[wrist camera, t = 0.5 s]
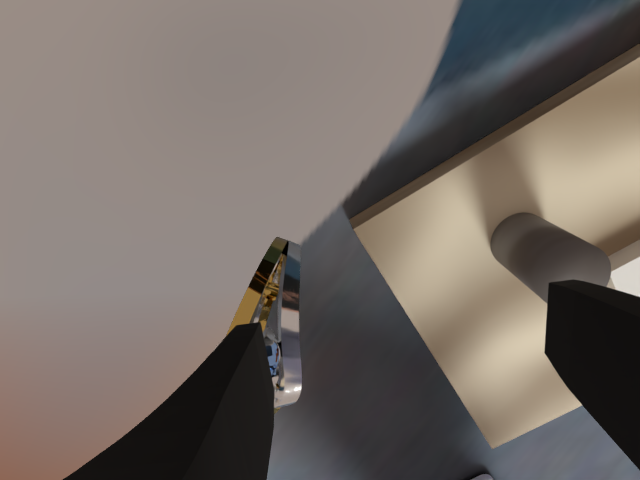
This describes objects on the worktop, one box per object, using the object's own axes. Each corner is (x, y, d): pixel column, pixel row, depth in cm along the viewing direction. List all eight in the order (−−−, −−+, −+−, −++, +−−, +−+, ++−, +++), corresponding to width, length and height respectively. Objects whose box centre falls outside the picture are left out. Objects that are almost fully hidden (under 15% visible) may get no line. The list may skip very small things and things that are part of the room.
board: (755, 291, 22) (897, 353, 17) (481, 428, 24) (530, 520, 19) (680, 18, 17) (844, -13, 12) (349, 219, 20) (367, 265, 14)
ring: (261, 207, 19) (237, 282, 12) (326, 230, 20) (343, 317, 12) (217, 331, 21) (171, 463, 14) (276, 349, 22) (264, 486, 14)
